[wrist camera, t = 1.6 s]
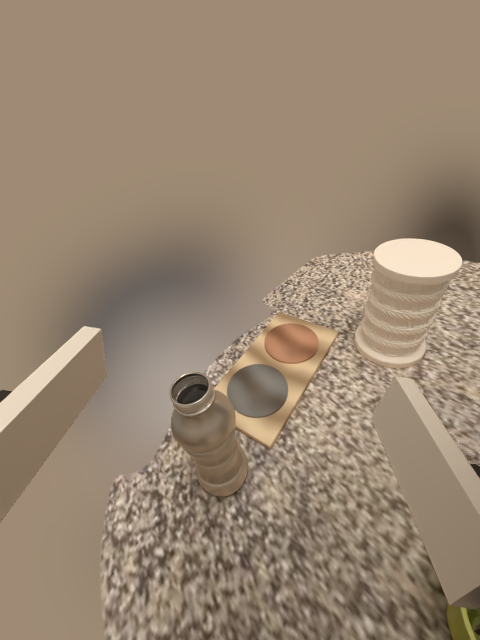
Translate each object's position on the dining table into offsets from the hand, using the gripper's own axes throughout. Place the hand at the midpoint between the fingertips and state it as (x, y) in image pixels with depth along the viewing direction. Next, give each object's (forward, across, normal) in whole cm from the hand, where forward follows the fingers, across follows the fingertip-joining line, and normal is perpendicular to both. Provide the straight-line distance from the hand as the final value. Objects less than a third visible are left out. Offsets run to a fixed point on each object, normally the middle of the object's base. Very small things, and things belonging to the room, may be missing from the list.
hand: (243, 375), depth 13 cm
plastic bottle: (+12, +1, -29) cm, 31 cm away
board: (+30, +7, -23) cm, 38 cm away
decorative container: (+34, +27, -17) cm, 47 cm away
